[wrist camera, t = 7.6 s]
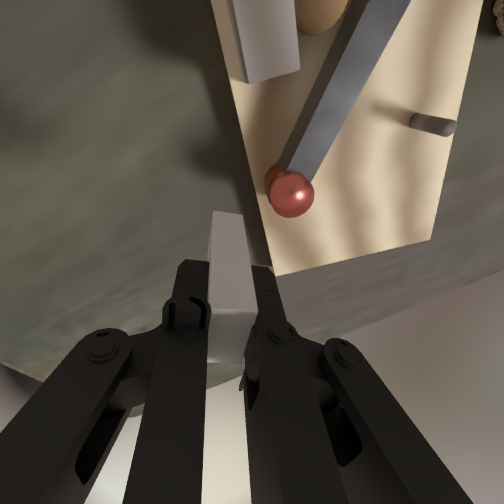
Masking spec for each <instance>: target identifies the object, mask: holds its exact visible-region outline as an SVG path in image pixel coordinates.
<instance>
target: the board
mask: <svg viewBox="0 0 504 504" xmlns="http://www.w3.org/2000/svg"><path fill="white" fill-rule="evenodd" d="M351 3H352V0H211V4H212V8H213V13H214V17H215V21H216V25H217V30H218V34H219V38H220V43H221V47H222V51H223V55H224V60H225V64H226V68H227V72H228V77H229V81H230V85H231V90H232V94H233V98H234V102H235V107H236V111H237V115H238V119H239V124H240V128H241V132H242V137H243V141H244V145H245V149H246V154H247V158H248V162H249V166H250V171H251V175H252V179H253V183H254V188H255V192H256V196H257V201H258V205H259V209H260V213H261V218H262V222H263V226H264V230H265V235H266V239H267V243H268V248H269V252H270V256H271V260H272V265H273V269H274V272H275V276H280V275H284V274H288V273H292V272H296V271H301V270H305V269H309V268H313V267H317V266H321V265H326V264H330V263H334V262H338V261H342V260H347V259H351V258H355V257H359V256H363V255H367V254H372V253H376V252H380V251H384V250H388V249H392V248H397V247H401V246H405V245H409V244H413V243H417V242H422V241H426V240H430V238H431V234H432V229H433V225H434V220H435V216H436V211H437V207H438V202H439V198H440V193H441V189H442V184H443V180H444V175H445V171H446V166H447V162H448V157H449V153H450V148H451V144H452V139H453V135H454V131H455V130H456V128H457V122H456V121H457V117H458V112H459V108H460V103H461V99H462V94H463V90H464V85H465V81H466V76H467V71H468V67H469V62H470V58H471V53H472V49H473V44H474V40H475V35H476V31H477V26H478V22H479V17H480V13H481V8H482V4H483V0H411V2H410V4H409V6H408V7H407V9H406V11H405V13H404V15H403V17H402V18H401V20H400V22H399V24H398V26H397V27H396V29H395V31H394V33H393V35H392V37H391V38H390V40H389V42H388V44H387V46H386V47H385V49H384V51H383V53H382V55H381V56H380V58H379V60H378V62H377V64H376V66H375V67H374V69H373V71H372V73H371V75H370V76H369V78H368V80H367V82H366V84H365V85H364V87H363V89H362V91H361V93H360V95H359V96H358V98H357V100H356V102H355V104H354V105H353V107H352V109H351V111H350V113H349V114H348V116H347V118H346V120H345V122H344V124H343V125H342V127H341V129H340V131H339V133H338V134H337V136H336V138H335V140H334V142H333V144H332V145H331V147H330V149H329V151H328V153H327V154H326V156H325V158H324V160H323V162H322V163H321V165H320V167H319V169H318V171H317V173H316V174H315V176H314V178H313V180H312V182H311V184H312V186H313V188H314V193H315V196H314V201H313V203H312V205H311V207H310V208H309V210H308V211H307V212H305V213H304V214H302V215H301V216H298V217H295V218H285V217H282V216H280V215H278V214H277V213H276V212H275V211H274V209H273V207H272V205H270V203H269V200H268V198H267V195H266V192H265V186H264V178H265V175H266V173H267V171H268V169H269V168H270V167H271V166H273V165H274V164H276V163H278V161H279V159H280V157H281V155H282V152H283V150H284V148H285V146H286V144H287V142H288V139H289V137H290V135H291V133H292V131H293V129H294V126H295V124H296V122H297V120H298V118H299V116H300V113H301V111H302V109H303V107H304V105H305V103H306V100H307V98H308V96H309V94H310V92H311V89H312V87H313V85H314V83H315V81H316V79H317V76H318V74H319V72H320V70H321V68H322V66H323V63H324V61H325V59H326V57H327V55H328V53H329V50H330V48H331V46H332V44H333V42H334V40H335V37H336V35H337V33H338V31H339V29H340V27H341V24H342V22H343V20H344V18H345V16H346V13H347V11H348V9H349V7H350V5H351Z"/></svg>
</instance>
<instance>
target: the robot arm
mask: <svg viewBox="0 0 504 504" xmlns="http://www.w3.org/2000/svg"><path fill="white" fill-rule="evenodd" d="M244 357H245V370H244V373H243V376H242V379H241V382H240V385H239V391H242V389H244V404H245V418H246V430H247V431H246V432H247V445H248V460H249V474H250V486H251V487H250V488H251V502H252V504H473V502H472V501H471V500H470V498H469V497H468V496H467V494H466V493H465V492H464V490H463V489H462V488H461V486H460V485H459V484H458V482H457V481H456V480H455V478H454V477H453V475H452V474H451V473H450V471H449V470H448V469H447V467H446V466H445V465H444V463H443V462H442V461H441V459H440V458H439V457H438V455H437V454H436V453H435V451H434V450H433V449H432V447H431V446H430V445H429V443H428V442H427V441H426V439H425V438H424V437H423V435H422V434H421V433H420V431H419V430H418V428H417V427H416V426H415V424H414V423H413V422H412V420H411V419H410V418H409V416H407V414H406V412H405V411H404V410H403V408H402V407H401V406H400V404H399V403H398V402H397V400H396V399H395V398H394V396H393V395H392V394H391V392H390V391H389V390H388V388H387V387H386V386H385V384H384V383H383V382H382V380H381V379H380V377H379V376H378V375H377V374H376V372H375V371H374V370H373V368H372V367H371V365H370V364H369V363H368V361H367V360H366V359H365V358H364V356H363V355H362V353H361V352H360V351H359V350H358V349H357V348H356V347H355V346H354V345H353V344H351V343H350V342H348V341H346V340H343V339H340V338H331V339H329V340H327V341H326V343H325V344H324V345H322V344H319V343H317V342H314V341H311V340H308V339H305V338H303V337H301V336H300V335H298V333H297V331H296V329H295V328H294V327H293V326H292V325H291V324H290V323H289V322H287V320H286V316H285V312H284V309H283V305H282V301H281V298H280V294H279V290H278V287H277V283H276V279H275V276H274V274H273V273H272V272H271V270H270V269H269V268H268V267H263V266H253V265H251V264H250V258H249V252H248V246H247V240H246V233H245V227H244V221H243V215H240V214H233V213H226V212H219V211H213V217H212V225H211V232H210V239H209V247H208V254H207V261H198V260H188V259H185V260H184V261H183V262H182V263H181V264H180V265H179V266H178V270H177V275H176V279H175V285H174V288H173V293H172V297H171V298H170V299H169V300H168V301H166V303H165V305H164V307H163V312H162V324H160V325H159V326H158V327H157V328H155V329H153V330H151V331H148V332H145V333H141V334H136V335H131V336H128V335H127V333H126V332H124V331H122V330H119V329H114V328H106V329H101V330H96V331H94V332H92V333H90V334H88V335H86V336H85V337H84V338H83V339H82V340H80V341H79V342H78V343H77V344H76V345H75V347H74V348H73V349H72V350H71V351H70V352H69V354H68V355H67V356H66V357H65V358H64V359H63V361H62V362H61V363H60V364H59V365H58V366H57V368H56V369H55V370H54V371H53V372H52V373H51V375H50V376H49V377H48V378H47V379H46V380H45V382H44V383H43V384H42V385H41V386H40V387H39V389H38V390H37V391H36V392H35V393H34V394H33V396H32V397H31V398H30V399H29V400H28V401H27V403H26V404H25V405H24V406H23V407H22V408H21V410H20V411H19V412H18V413H17V414H16V415H15V417H14V418H13V419H12V420H11V421H10V422H9V424H8V425H7V426H6V427H5V429H4V430H3V431H2V432H1V433H0V504H84V503H85V500H86V498H87V497H88V495H89V493H90V491H91V489H92V487H93V485H94V483H95V481H96V479H97V477H98V475H99V473H100V471H101V469H102V467H103V465H104V463H105V461H106V459H107V457H108V455H109V453H110V451H111V449H112V447H113V445H114V443H115V441H116V439H117V437H118V435H119V433H120V431H121V429H122V427H123V425H124V423H125V421H126V419H127V417H128V416H129V414H130V412H131V410H132V408H133V407H135V406H137V405H140V404H143V403H145V406H144V411H143V415H142V419H141V424H140V428H139V433H138V437H137V441H136V446H135V451H134V455H133V459H132V463H131V468H130V473H129V477H128V481H127V485H126V490H125V494H124V499H123V503H122V504H201V494H202V470H203V447H204V423H205V400H206V377H207V362H211V363H242V361H243V358H244Z"/></svg>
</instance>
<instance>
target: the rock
mask: <svg viewBox="0 0 504 504" xmlns="http://www.w3.org/2000/svg"><path fill="white" fill-rule="evenodd" d="M493 13H494V15H495V16H496V17H498V18H497V21H496V23H497V27H498V29H499V32H500V33H501V34H502V35H503V37H504V0H496V2H495V4H494V7H493Z"/></svg>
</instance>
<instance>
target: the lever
mask: <svg viewBox="0 0 504 504" xmlns="http://www.w3.org/2000/svg"><path fill="white" fill-rule="evenodd" d="M410 2H411V0H352V3H351V5H350V7H349V9H348V11H347V13H346V16H345V18H344V20H343V22H342V24H341V27H340V29H339V31H338V33H337V35H336V37H335V40H334V42H333V44H332V46H331V48H330V50H329V53H328V55H327V57H326V59H325V61H324V63H323V66H322V68H321V70H320V72H319V74H318V76H317V79H316V81H315V83H314V85H313V87H312V89H311V92H310V94H309V96H308V98H307V100H306V103H305V105H304V107H303V109H302V111H301V113H300V116H299V118H298V120H297V122H296V124H295V126H294V129H293V131H292V133H291V135H290V137H289V139H288V142H287V144H286V146H285V148H284V150H283V152H282V155H281V157H280V159H279V161H278V163H276V164H274V165H273V166H271V167H270V168H269V169H268V171H267V173H266V175H265V178H264V186H265V192H266V195H267V198H268V200H269V203H270V205H272V207H273V209H274V211H275V212H276V213H277V214H278V215H280V216H282V217H285V218H295V217H298V216H301V215H302V214H304V213H305V212H307V211H308V210H309V208H310V207H311V205H312V203H313V201H314V196H315V193H314V188H313V186H312V184H311V182H312V180H313V178H314V176H315V174H316V173H317V171H318V169H319V167H320V165H321V163H322V162H323V160H324V158H325V156H326V154H327V153H328V151H329V149H330V147H331V145H332V144H333V142H334V140H335V138H336V136H337V134H338V133H339V131H340V129H341V127H342V125H343V124H344V122H345V120H346V118H347V116H348V114H349V113H350V111H351V109H352V107H353V105H354V104H355V102H356V100H357V98H358V96H359V95H360V93H361V91H362V89H363V87H364V85H365V84H366V82H367V80H368V78H369V76H370V75H371V73H372V71H373V69H374V67H375V66H376V64H377V62H378V60H379V58H380V56H381V55H382V53H383V51H384V49H385V47H386V46H387V44H388V42H389V40H390V38H391V37H392V35H393V33H394V31H395V29H396V27H397V26H398V24H399V22H400V20H401V18H402V17H403V15H404V13H405V11H406V9H407V7H408V6H409V4H410Z"/></svg>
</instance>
